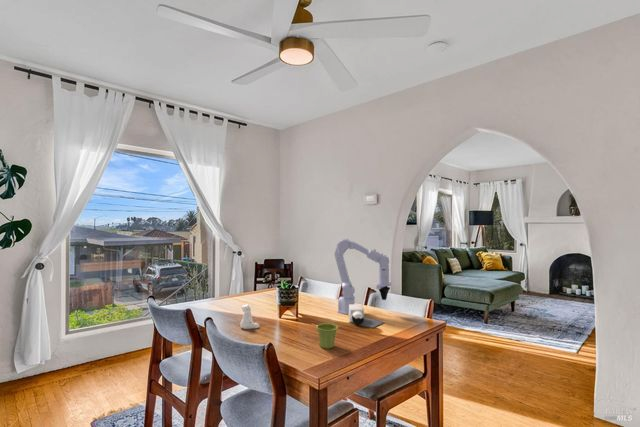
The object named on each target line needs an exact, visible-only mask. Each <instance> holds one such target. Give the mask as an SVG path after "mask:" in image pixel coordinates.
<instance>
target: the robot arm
mask: <svg viewBox="0 0 640 427" xmlns="http://www.w3.org/2000/svg"><path fill="white" fill-rule="evenodd" d="M347 250H355V251H358V252H360V253H362V254H364V255H365V256H366V257H367V258H368V260H371V261H373V262H375V263H378V265H379V268H378V274H379V275H378V284H377V285H376V290H378V292H379V293H380V297H381V300H383V301H387V298H388V293H389V291H390V289H391V286H392V282H390V266H389V265H390V258H389V256H387V255H385V254H384V253H381V252H378V251H377V250H376V249H375V248H374V249H372V248H371V249H368V248H366V247H364V246H363V245H361V244H359V243H357V242H355V241H354V240H351V239H348V238H343V239H341V240H339V241H338V242H337V244H336V248H335V251H334V258H335V261H336V265H337V268H338V273H339V277H340V280H341V288H342V292H341V295H342V296H339V299H338V301H337V302H338V304H337V313H339V314H345V315H349V304H356V303H355V302H356V301H355V296H354V295H355V291H356V290H355V287H354V286H353V285H352V282H351V280H350V276H349V273H348V269H347V266H346V261H345V258H344V255H345V253H346V251H347Z"/></svg>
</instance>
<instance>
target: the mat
mask: <svg viewBox="0 0 640 427" xmlns="http://www.w3.org/2000/svg"><path fill="white" fill-rule="evenodd" d="M348 324H352V325H355V324H354V323H353V322H350V321H348ZM384 324H385V321H383V320H377V319H374V318H373V319H372V318H368V317H364V321H363V323H362V324H360V325H359V326H362V327H366V328H371V329H375V328H377V327H379V326H380V325H384Z"/></svg>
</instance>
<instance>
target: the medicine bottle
mask: <svg viewBox="0 0 640 427" xmlns="http://www.w3.org/2000/svg"><path fill="white" fill-rule="evenodd" d="M364 311H365V310H364V307H363V304H360V303H359V304H358V303H357V304H356V303H355V304H349V314H348V318H349V322H353V323H354V324H353V325H358V326H361V325H360V324H362V323H363V321H364V318H365V317H364V316H365V315H364Z"/></svg>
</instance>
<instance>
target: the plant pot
mask: <svg viewBox="0 0 640 427" xmlns="http://www.w3.org/2000/svg"><path fill="white" fill-rule="evenodd" d="M338 328H339V326H338V325H336V324H334V323H320V324H317V325H316V329H317V332H318V339H319V340H318V342H319V346H320V348H322V349H332V348H334V347H335V340H336V334H337V330H338Z"/></svg>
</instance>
